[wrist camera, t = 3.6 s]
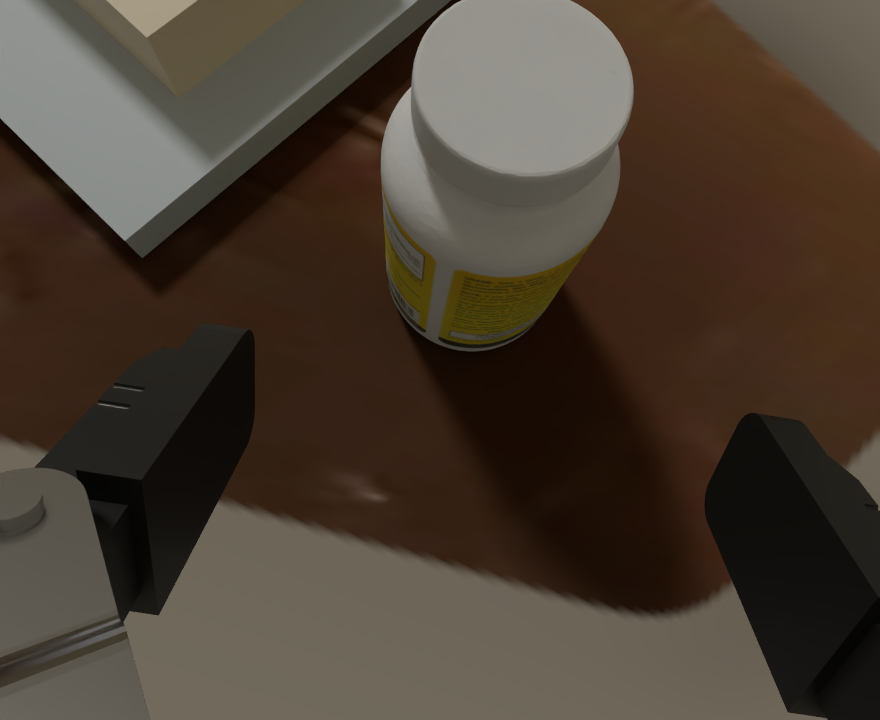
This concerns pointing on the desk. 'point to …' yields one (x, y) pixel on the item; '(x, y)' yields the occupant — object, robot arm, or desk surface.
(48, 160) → the board
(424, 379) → the desk surface
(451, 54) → the pill bottle
